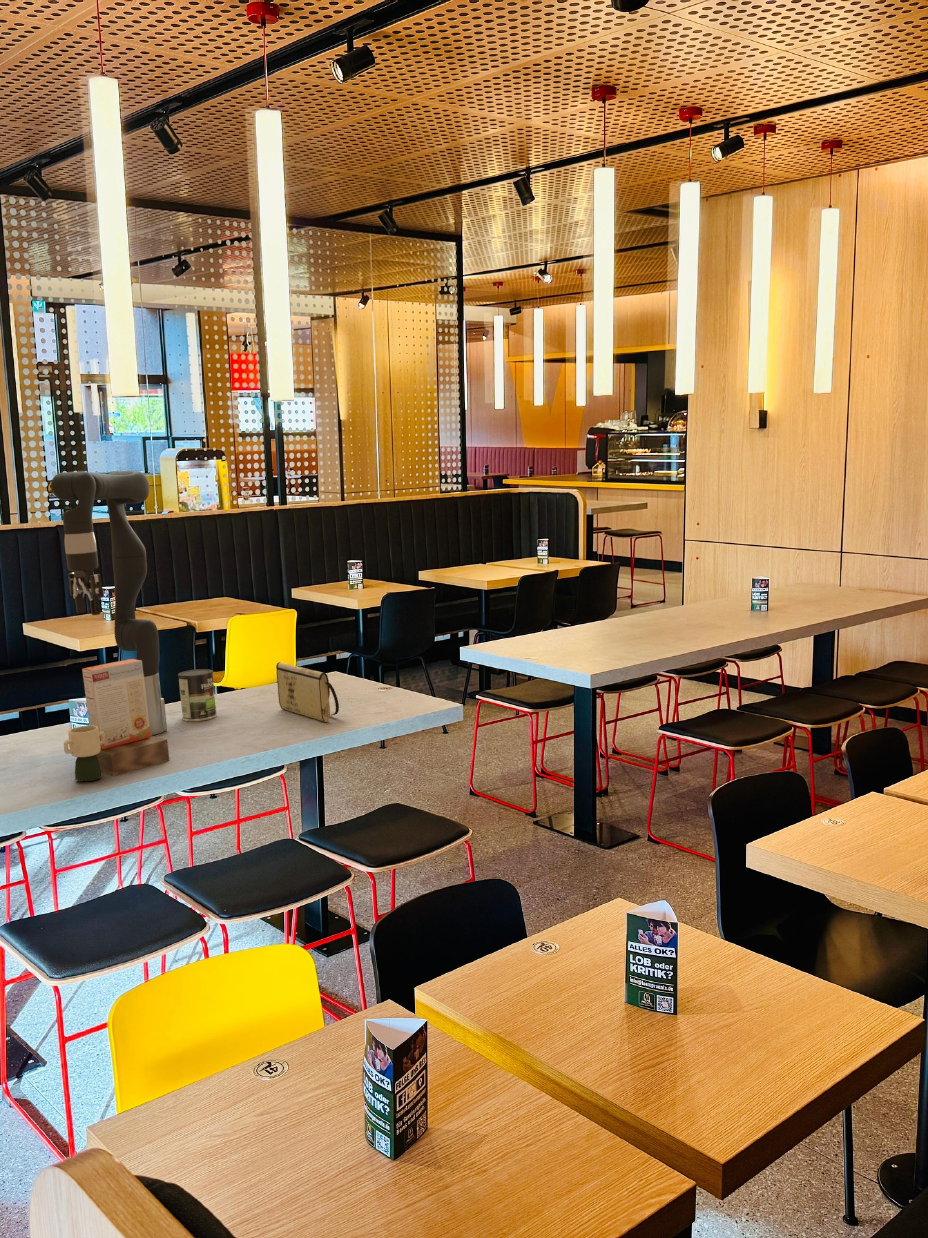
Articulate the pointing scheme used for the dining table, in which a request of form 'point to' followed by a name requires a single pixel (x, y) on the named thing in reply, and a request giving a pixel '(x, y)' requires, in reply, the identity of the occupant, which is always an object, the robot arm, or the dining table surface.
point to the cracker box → (117, 701)
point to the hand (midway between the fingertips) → (88, 613)
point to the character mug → (85, 751)
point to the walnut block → (133, 755)
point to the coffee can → (197, 695)
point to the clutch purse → (305, 691)
